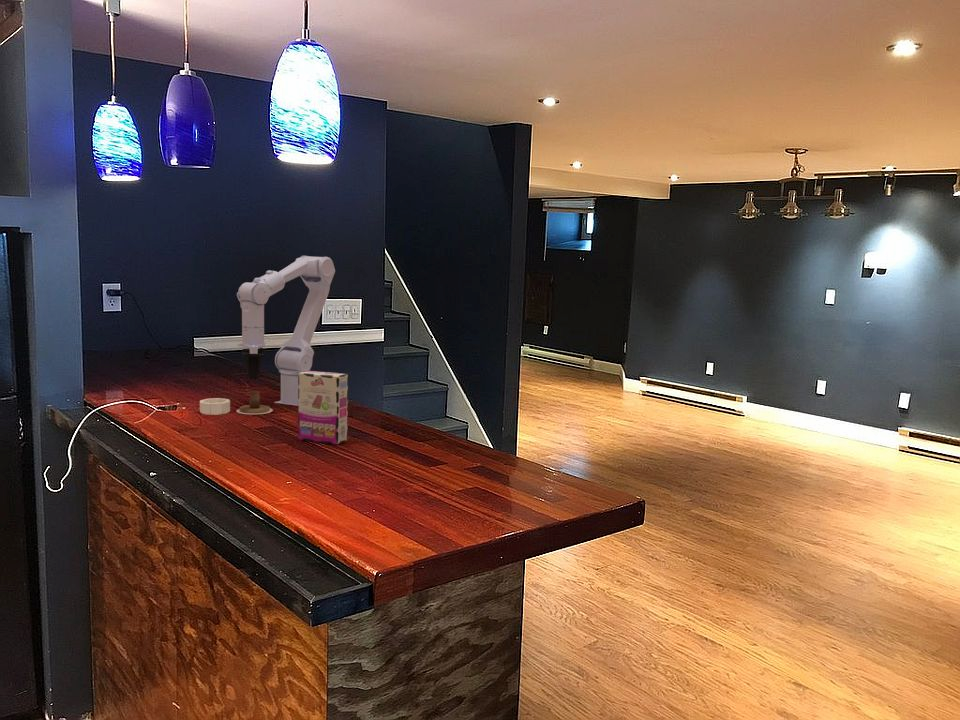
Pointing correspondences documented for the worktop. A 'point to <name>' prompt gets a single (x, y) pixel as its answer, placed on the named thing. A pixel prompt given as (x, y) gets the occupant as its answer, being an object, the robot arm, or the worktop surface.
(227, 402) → the bowl
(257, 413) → the coaster
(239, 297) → the robot arm
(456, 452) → the worktop surface
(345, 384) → the candy bar box
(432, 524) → the worktop surface
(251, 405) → the lid
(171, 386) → the worktop surface
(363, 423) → the worktop surface
